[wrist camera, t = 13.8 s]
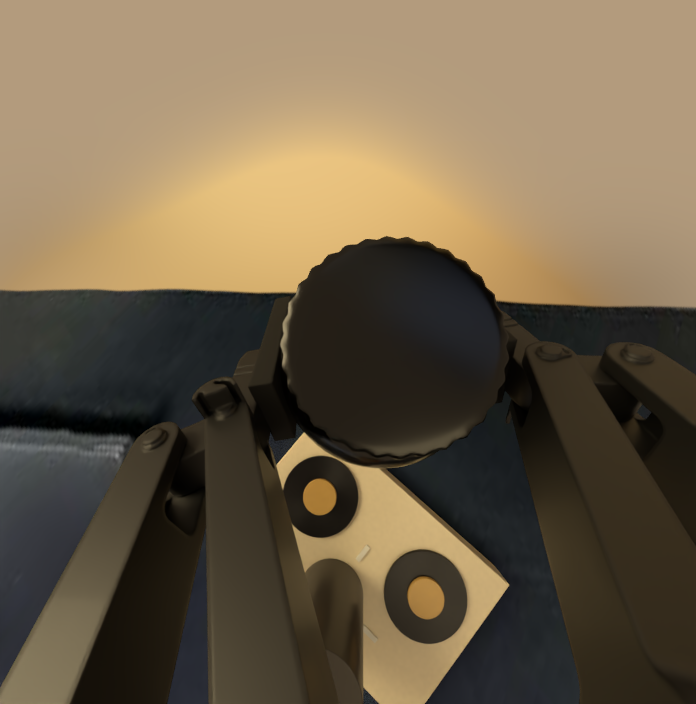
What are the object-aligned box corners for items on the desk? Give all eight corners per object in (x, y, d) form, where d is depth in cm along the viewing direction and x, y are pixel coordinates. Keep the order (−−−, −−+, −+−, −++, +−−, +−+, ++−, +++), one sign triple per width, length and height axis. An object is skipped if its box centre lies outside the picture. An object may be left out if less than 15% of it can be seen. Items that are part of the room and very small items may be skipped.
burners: (268, 498, 23) (265, 500, 23) (317, 439, 24) (316, 440, 23) (432, 661, 21) (433, 667, 20) (482, 590, 21) (485, 595, 21)
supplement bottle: (384, 458, 17) (442, 612, 5) (295, 393, 17) (156, 384, 6) (445, 365, 17) (626, 296, 5) (356, 307, 18) (346, 141, 6)
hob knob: (285, 596, 22) (239, 714, 14) (327, 543, 22) (307, 627, 14) (334, 647, 21) (315, 805, 13) (376, 591, 22) (384, 710, 13)
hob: (220, 534, 25) (203, 550, 23) (323, 412, 27) (318, 414, 24) (388, 712, 22) (391, 753, 20) (494, 565, 24) (510, 586, 21)
